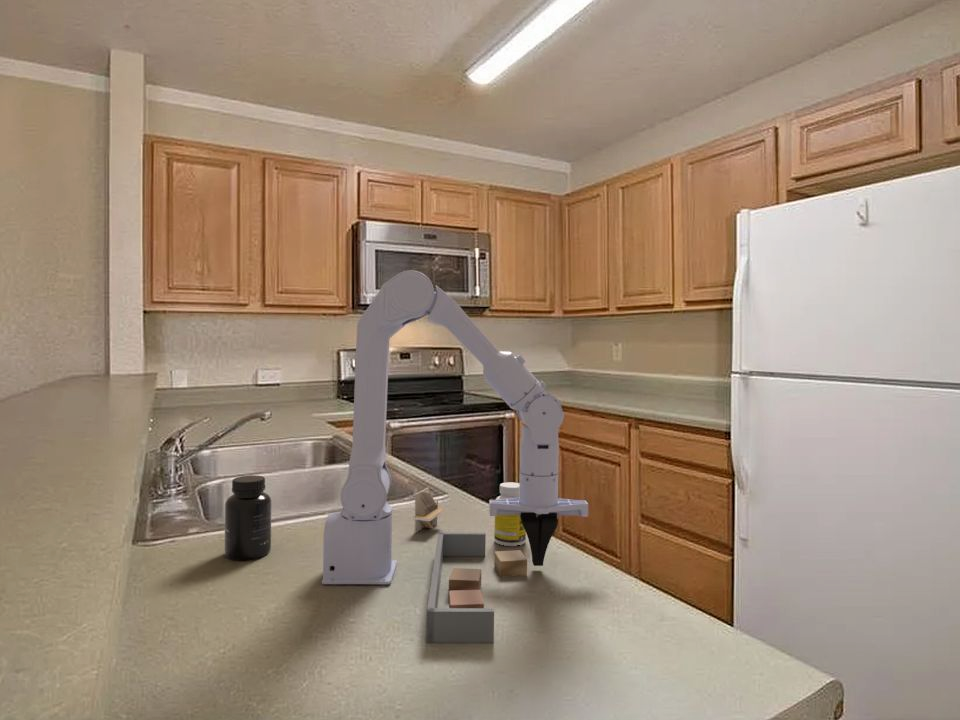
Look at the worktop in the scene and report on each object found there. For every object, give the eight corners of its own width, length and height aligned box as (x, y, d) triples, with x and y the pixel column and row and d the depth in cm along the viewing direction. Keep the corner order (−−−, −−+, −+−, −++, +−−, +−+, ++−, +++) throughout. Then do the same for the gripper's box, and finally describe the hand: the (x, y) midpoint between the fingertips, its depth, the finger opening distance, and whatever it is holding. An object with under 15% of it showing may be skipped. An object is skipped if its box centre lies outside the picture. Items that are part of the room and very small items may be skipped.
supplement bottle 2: (524, 548, 92) (524, 489, 92) (491, 545, 94) (492, 487, 93) (527, 537, 98) (528, 482, 98) (497, 535, 99) (497, 480, 99)
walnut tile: (448, 598, 74) (448, 579, 74) (452, 585, 78) (452, 567, 78) (478, 599, 74) (478, 580, 74) (481, 586, 78) (481, 569, 78)
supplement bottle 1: (214, 557, 87) (214, 480, 86) (247, 543, 93) (248, 472, 93) (248, 564, 84) (248, 485, 84) (280, 549, 90) (281, 476, 90)
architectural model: (444, 528, 104) (445, 488, 104) (429, 540, 97) (429, 497, 97) (428, 526, 105) (428, 487, 105) (411, 538, 98) (411, 495, 98)
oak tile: (500, 578, 81) (500, 561, 81) (494, 567, 85) (494, 551, 85) (526, 576, 82) (527, 559, 82) (519, 566, 86) (520, 550, 85)
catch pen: (426, 642, 62) (426, 611, 62) (438, 554, 89) (438, 532, 89) (493, 642, 63) (494, 611, 63) (485, 554, 90) (485, 532, 90)
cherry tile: (450, 625, 67) (450, 605, 67) (449, 610, 71) (449, 590, 71) (483, 624, 67) (483, 603, 67) (480, 609, 71) (480, 589, 71)
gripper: (491, 477, 79) (489, 573, 79) (593, 478, 79) (592, 574, 79) (489, 467, 86) (487, 555, 86) (583, 468, 86) (581, 555, 86)
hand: (537, 563), depth 83 cm, fingers closed
